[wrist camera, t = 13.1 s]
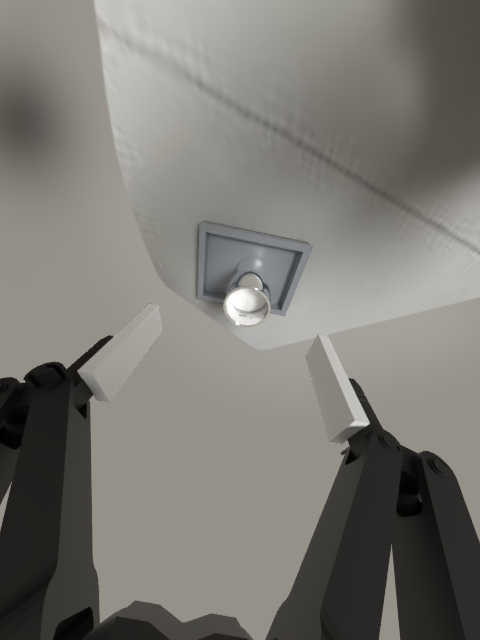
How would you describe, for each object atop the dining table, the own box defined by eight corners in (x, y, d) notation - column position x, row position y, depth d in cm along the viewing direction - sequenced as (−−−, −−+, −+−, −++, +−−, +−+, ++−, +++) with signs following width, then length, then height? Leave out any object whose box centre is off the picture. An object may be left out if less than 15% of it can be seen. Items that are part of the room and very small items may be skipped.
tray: (307, 242, 32) (312, 246, 29) (283, 308, 41) (284, 316, 38) (204, 221, 32) (199, 223, 29) (201, 292, 40) (197, 299, 38)
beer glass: (268, 285, 37) (273, 326, 25) (237, 289, 38) (227, 330, 26) (265, 251, 33) (270, 281, 21) (231, 257, 34) (216, 288, 22)
